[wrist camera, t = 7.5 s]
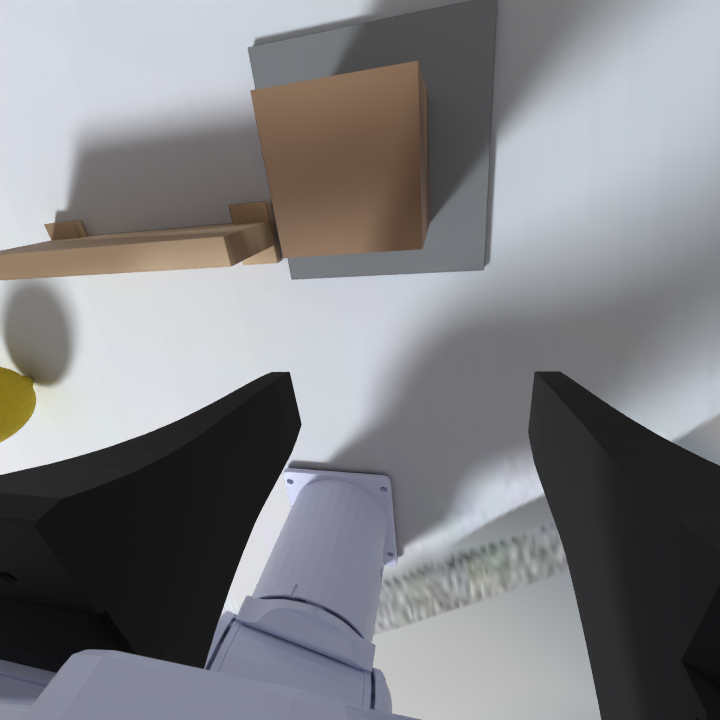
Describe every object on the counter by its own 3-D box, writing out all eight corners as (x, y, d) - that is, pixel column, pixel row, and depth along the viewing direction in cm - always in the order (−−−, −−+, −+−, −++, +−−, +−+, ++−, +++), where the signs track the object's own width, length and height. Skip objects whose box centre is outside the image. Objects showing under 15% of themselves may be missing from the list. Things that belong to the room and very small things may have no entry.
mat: (483, 268, 18) (483, 270, 18) (293, 277, 20) (291, 279, 20) (496, -2, 14) (497, -5, 13) (250, 49, 16) (247, 47, 16)
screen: (281, 260, 20) (236, 287, 16) (76, 273, 23) (-8, 298, 19) (269, 200, 19) (217, 212, 14) (53, 223, 22) (-43, 238, 18)
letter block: (430, 222, 17) (422, 249, 12) (328, 231, 19) (283, 258, 13) (427, 88, 15) (417, 51, 10) (312, 107, 16) (248, 82, 11)
